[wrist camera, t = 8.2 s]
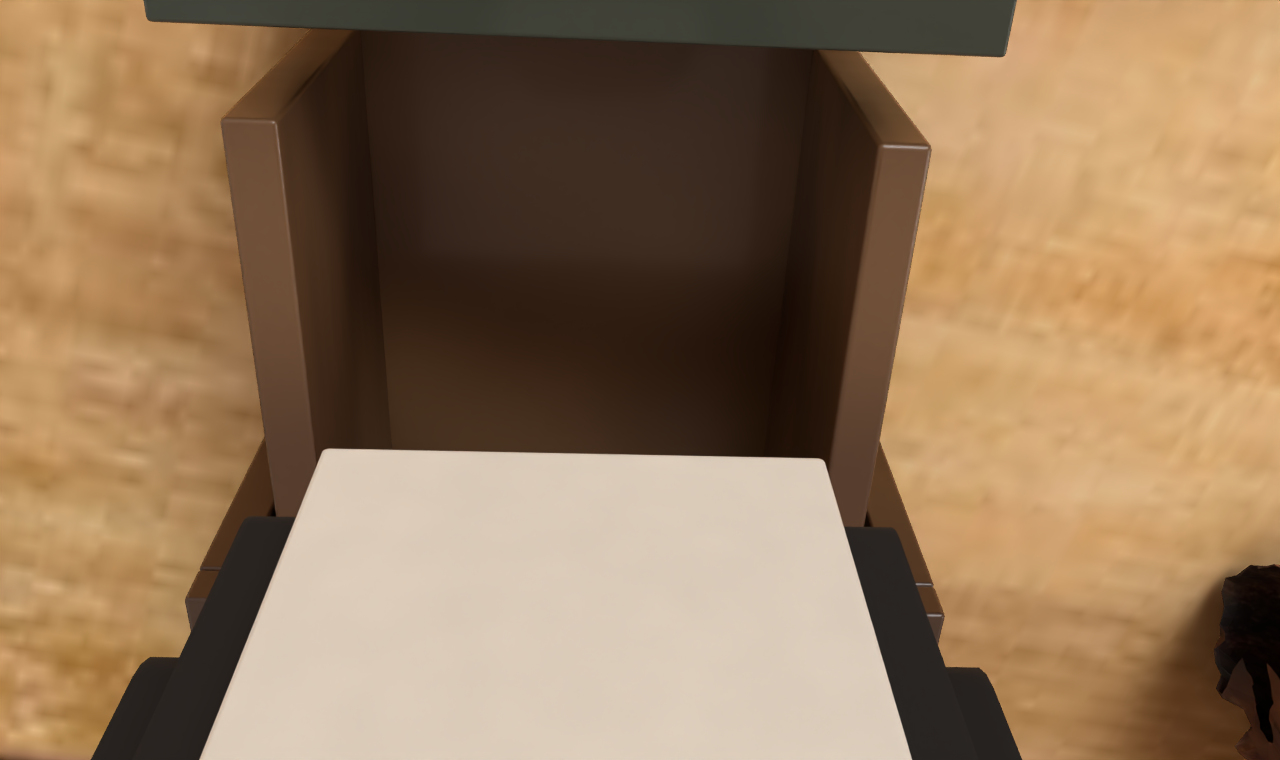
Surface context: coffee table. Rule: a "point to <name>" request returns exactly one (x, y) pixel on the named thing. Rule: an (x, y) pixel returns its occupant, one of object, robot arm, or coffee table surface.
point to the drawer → (580, 224)
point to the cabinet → (260, 502)
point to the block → (562, 615)
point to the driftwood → (1252, 656)
